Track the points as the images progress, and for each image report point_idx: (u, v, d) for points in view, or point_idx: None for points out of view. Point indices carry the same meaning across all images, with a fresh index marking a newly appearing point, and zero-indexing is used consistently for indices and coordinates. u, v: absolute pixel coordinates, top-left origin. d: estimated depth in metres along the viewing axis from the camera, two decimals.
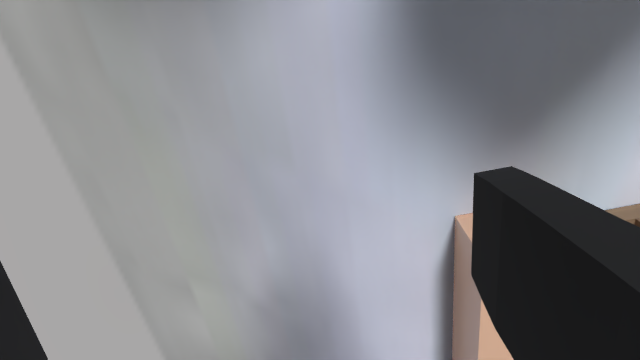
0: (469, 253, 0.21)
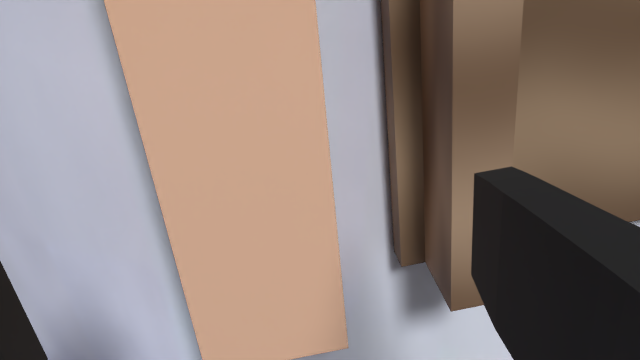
0: None
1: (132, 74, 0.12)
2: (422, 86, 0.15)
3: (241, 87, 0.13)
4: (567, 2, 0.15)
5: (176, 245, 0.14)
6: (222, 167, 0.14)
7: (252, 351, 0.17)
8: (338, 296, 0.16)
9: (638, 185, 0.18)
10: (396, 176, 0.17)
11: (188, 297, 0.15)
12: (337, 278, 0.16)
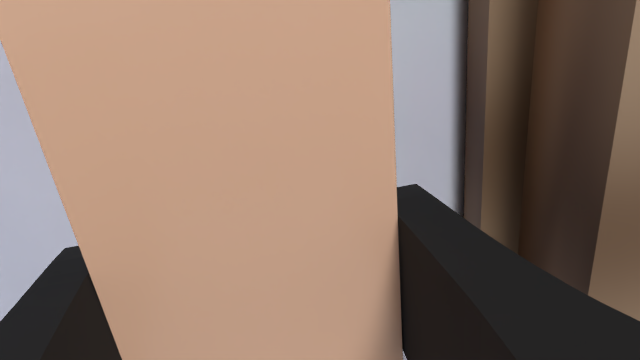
0: None
1: (88, 232, 0.07)
2: (522, 199, 0.11)
3: (268, 242, 0.08)
4: None
5: None
6: (236, 352, 0.09)
7: None
8: None
9: None
10: None
11: None
12: None
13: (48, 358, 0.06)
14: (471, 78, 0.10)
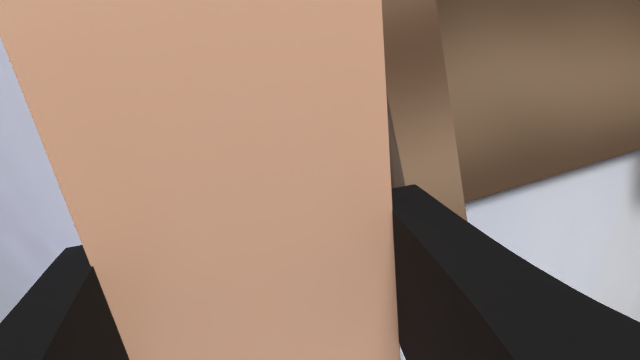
0: None
1: (86, 217, 0.07)
2: None
3: (263, 227, 0.08)
4: None
5: None
6: (235, 336, 0.09)
7: None
8: None
9: (599, 125, 0.19)
10: None
11: None
12: None
13: (50, 358, 0.06)
14: None
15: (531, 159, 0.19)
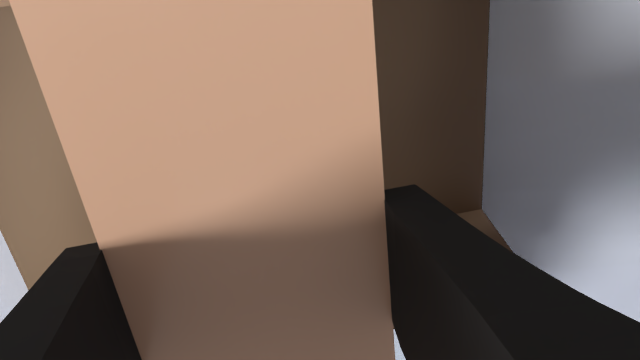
0: None
1: (86, 176, 0.08)
2: None
3: (257, 190, 0.08)
4: None
5: None
6: (229, 300, 0.09)
7: None
8: None
9: (432, 30, 0.14)
10: None
11: None
12: None
13: (50, 358, 0.06)
14: None
15: (451, 116, 0.15)
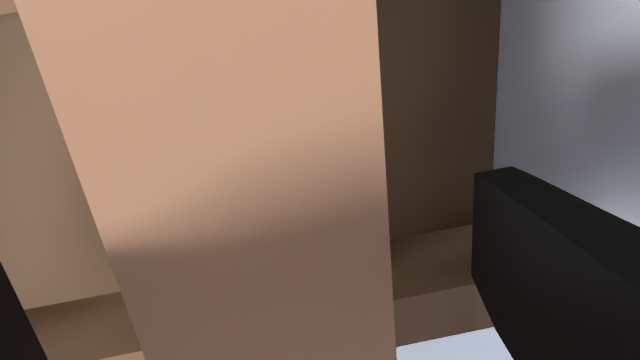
0: None
1: (93, 176, 0.08)
2: None
3: (262, 189, 0.08)
4: None
5: None
6: (234, 297, 0.09)
7: None
8: None
9: (440, 38, 0.13)
10: None
11: None
12: None
13: None
14: None
15: (460, 126, 0.14)
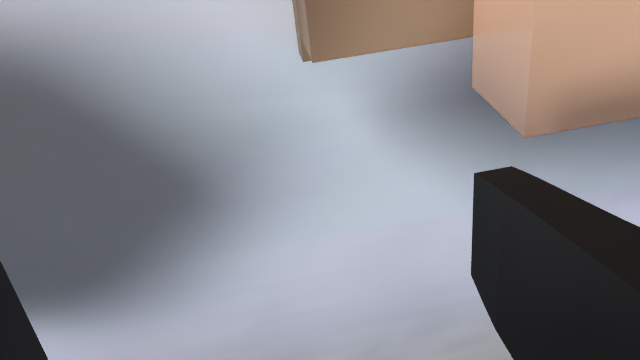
0: None
1: None
2: None
3: None
4: None
5: None
6: None
7: (586, 103, 0.13)
8: None
9: None
10: None
11: (538, 5, 0.12)
12: None
13: None
14: None
15: None
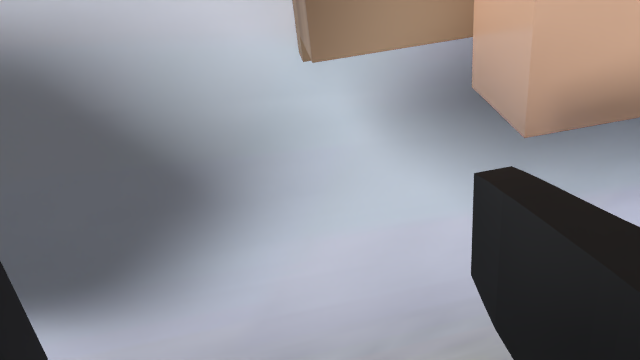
0: None
1: None
2: None
3: None
4: None
5: None
6: None
7: (586, 103, 0.13)
8: None
9: None
10: None
11: (538, 5, 0.12)
12: None
13: None
14: None
15: None
